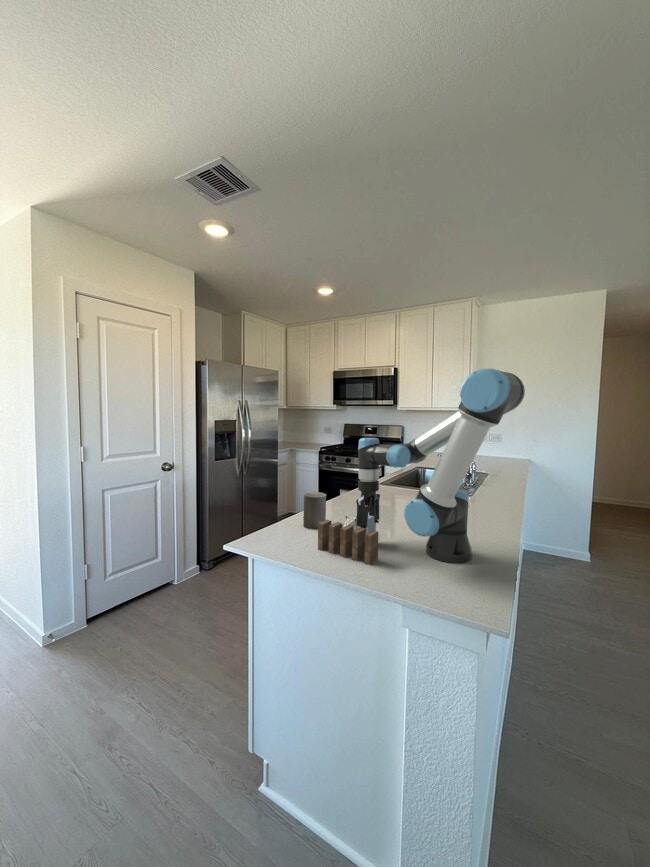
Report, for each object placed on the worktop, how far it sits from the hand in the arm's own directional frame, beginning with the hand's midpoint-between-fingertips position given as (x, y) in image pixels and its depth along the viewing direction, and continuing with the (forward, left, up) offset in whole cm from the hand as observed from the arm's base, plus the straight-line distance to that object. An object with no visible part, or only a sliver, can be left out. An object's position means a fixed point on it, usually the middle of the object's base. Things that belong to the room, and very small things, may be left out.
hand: (368, 542), depth 133 cm
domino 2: (+6, +13, -1) cm, 14 cm away
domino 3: (+1, +13, -1) cm, 13 cm away
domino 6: (-9, +13, -1) cm, 16 cm away
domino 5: (0, 0, 0) cm, 0 cm away
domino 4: (-4, +13, -1) cm, 13 cm away
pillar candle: (+29, -5, -1) cm, 30 cm away
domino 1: (+11, +13, -1) cm, 17 cm away
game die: (+9, -4, -1) cm, 10 cm away
